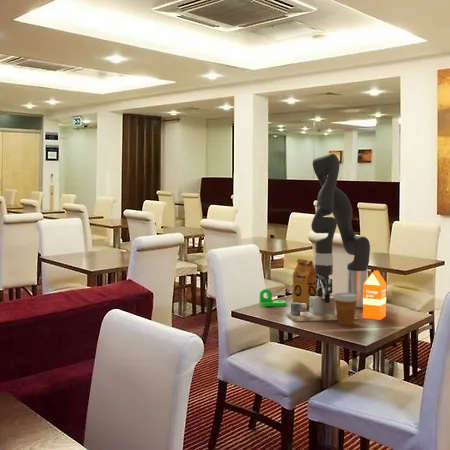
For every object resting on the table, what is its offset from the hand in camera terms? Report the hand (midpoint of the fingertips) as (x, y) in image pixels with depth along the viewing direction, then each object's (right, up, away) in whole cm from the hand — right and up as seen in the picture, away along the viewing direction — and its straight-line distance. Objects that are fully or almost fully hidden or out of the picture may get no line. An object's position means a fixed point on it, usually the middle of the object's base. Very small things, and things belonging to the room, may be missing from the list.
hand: (323, 301), depth 250 cm
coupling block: (-1, -5, 0) cm, 5 cm away
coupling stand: (-1, -7, 0) cm, 7 cm away
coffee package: (-4, -6, +28) cm, 29 cm away
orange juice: (+22, -8, +3) cm, 24 cm away
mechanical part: (-19, -6, +27) cm, 34 cm away
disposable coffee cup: (+7, -8, -11) cm, 16 cm away
